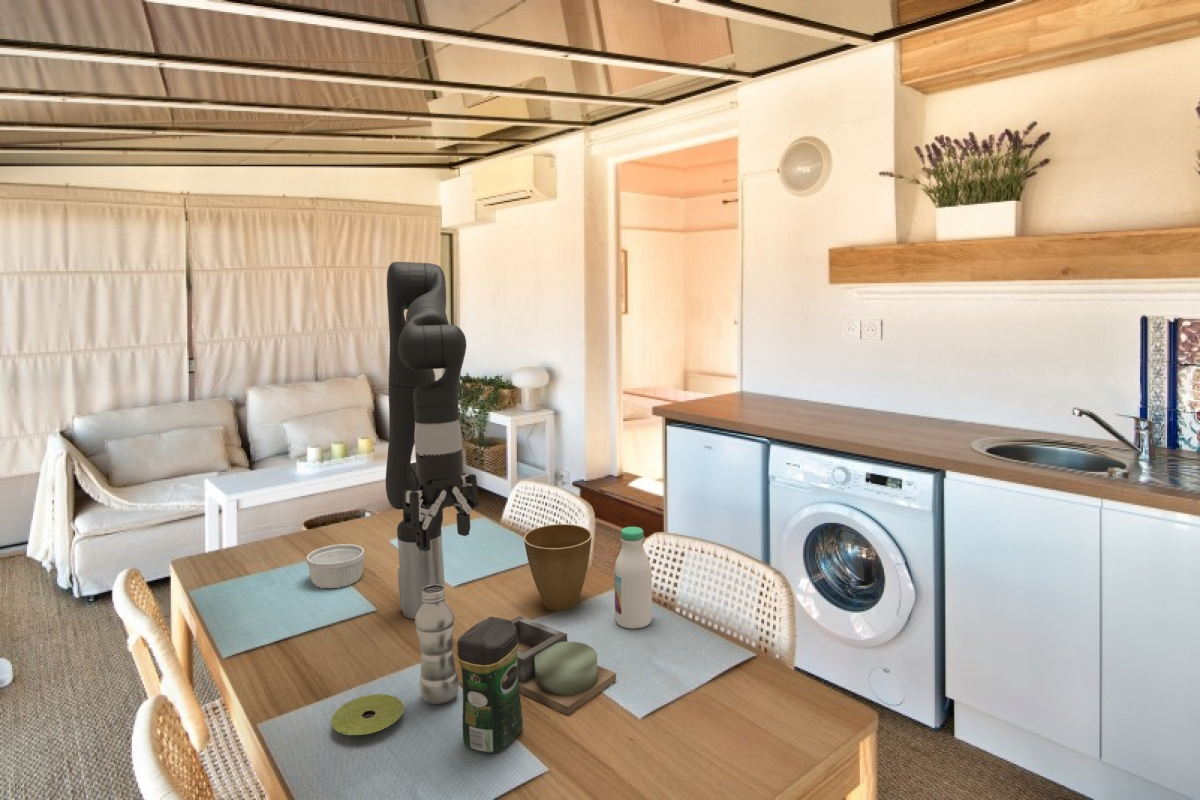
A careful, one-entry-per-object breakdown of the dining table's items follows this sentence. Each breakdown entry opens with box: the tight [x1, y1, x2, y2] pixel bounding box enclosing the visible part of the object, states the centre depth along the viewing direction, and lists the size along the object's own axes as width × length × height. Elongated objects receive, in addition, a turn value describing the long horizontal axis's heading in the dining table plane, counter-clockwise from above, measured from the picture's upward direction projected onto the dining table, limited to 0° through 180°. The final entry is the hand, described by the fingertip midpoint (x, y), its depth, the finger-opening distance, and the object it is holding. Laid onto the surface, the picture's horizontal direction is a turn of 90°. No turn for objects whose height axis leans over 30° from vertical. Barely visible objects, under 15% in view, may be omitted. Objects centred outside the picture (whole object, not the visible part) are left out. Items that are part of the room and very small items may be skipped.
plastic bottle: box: [414, 585, 460, 705], centre depth 122 cm, size 6×7×20 cm
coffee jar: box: [457, 616, 524, 754], centre depth 111 cm, size 10×8×19 cm
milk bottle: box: [614, 526, 653, 630], centre depth 149 cm, size 8×8×20 cm
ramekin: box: [306, 543, 365, 589], centre depth 175 cm, size 13×13×7 cm
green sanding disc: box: [330, 693, 405, 736], centre depth 117 cm, size 11×11×2 cm
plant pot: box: [523, 523, 593, 612], centre depth 158 cm, size 15×15×16 cm
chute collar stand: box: [509, 615, 617, 716], centre depth 130 cm, size 24×13×6 cm, turn 51°
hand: (444, 542), depth 120 cm, fingers open, 8 cm apart
